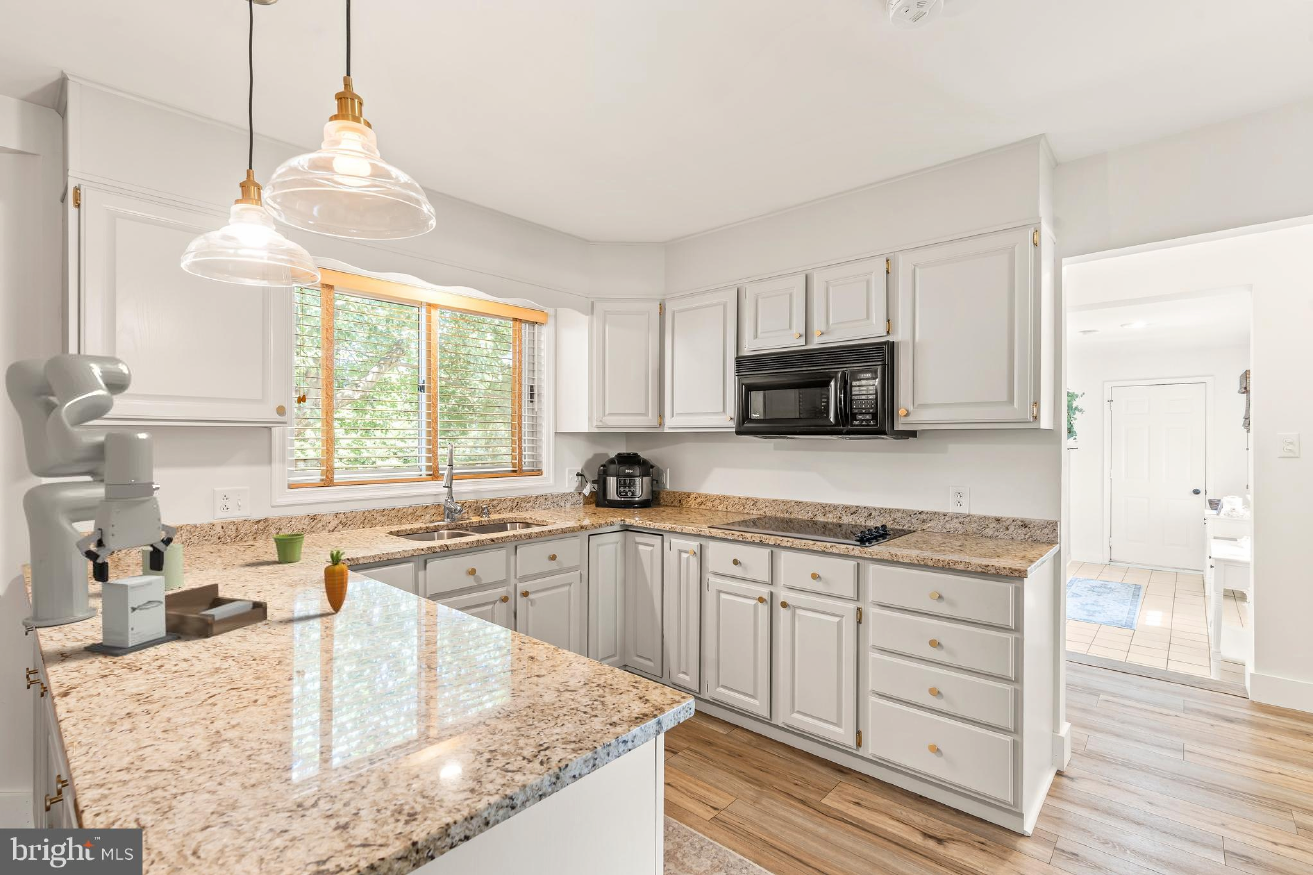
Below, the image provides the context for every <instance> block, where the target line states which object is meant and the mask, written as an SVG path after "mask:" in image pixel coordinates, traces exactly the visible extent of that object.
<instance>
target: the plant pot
mask: <svg viewBox="0 0 1313 875" xmlns="http://www.w3.org/2000/svg"><path fill="white" fill-rule="evenodd" d="M305 536H306V533H281V534H277V535H273V536H272V539H274V543H275V547H276V548H275V549H276V553H277V554H276V555H277V559H278V563H280V564H289V563H296V562H300V560H301V557H302V549H303V543H304V540H305Z"/></svg>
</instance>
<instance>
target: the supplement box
mask: <svg viewBox="0 0 1313 875" xmlns="http://www.w3.org/2000/svg"><path fill="white" fill-rule="evenodd" d="M165 595H166V591H165V577H164V576H151V575H143V574H138V575H134V576H128V577H123V578H118V579H114V580H109V581H108V582H105V583H102V582H101V620H102V621H101V623H102V624H101V627H102V629H101V630H102V631H101V632H102V639H101V640H102V642H103V645H107V646H115V647H123V648H129V647H131V646H134V645H137V644H141V643H144V642H147V641H151V640H154V639H158V638H162V637H165V633H167V631H165Z"/></svg>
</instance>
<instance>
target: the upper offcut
mask: <svg viewBox="0 0 1313 875" xmlns="http://www.w3.org/2000/svg"><path fill="white" fill-rule="evenodd" d="M249 610H253V607H252V602H246V601H236V602H233V603H229V604H226V605H223V606H220V607H217V608H214V609H211V610H207V611H204V612H201V613H199V615H200V616H208V617H213V621H214V620H218V619H221V618H225V617H228V616H232V615H235V614H239V613H242V612H246V611H249Z"/></svg>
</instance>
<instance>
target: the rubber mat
mask: <svg viewBox="0 0 1313 875" xmlns="http://www.w3.org/2000/svg"><path fill="white" fill-rule="evenodd" d="M181 638H182V637H181V634H177V633H170V632H166V633H165V637H162V638H158V639H154V640H151V641H147V642H144V643H141V644H137V645H134V646H131V647H129V648H123V647H115V646H107V645H103V641H101V642H97V643H94V644H89V645H86V646H84V647H83V651H88V652H93V653H97V654H105V655H108V656H109V655H110V656H115V657H122V656H124V655H129V654H132V653H135V652H138V651H141V650H145V649H148V648H152V647H155V645H156V646H159V645H162V644H165V643H168V642H172V641H175V640H179V639H181Z"/></svg>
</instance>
